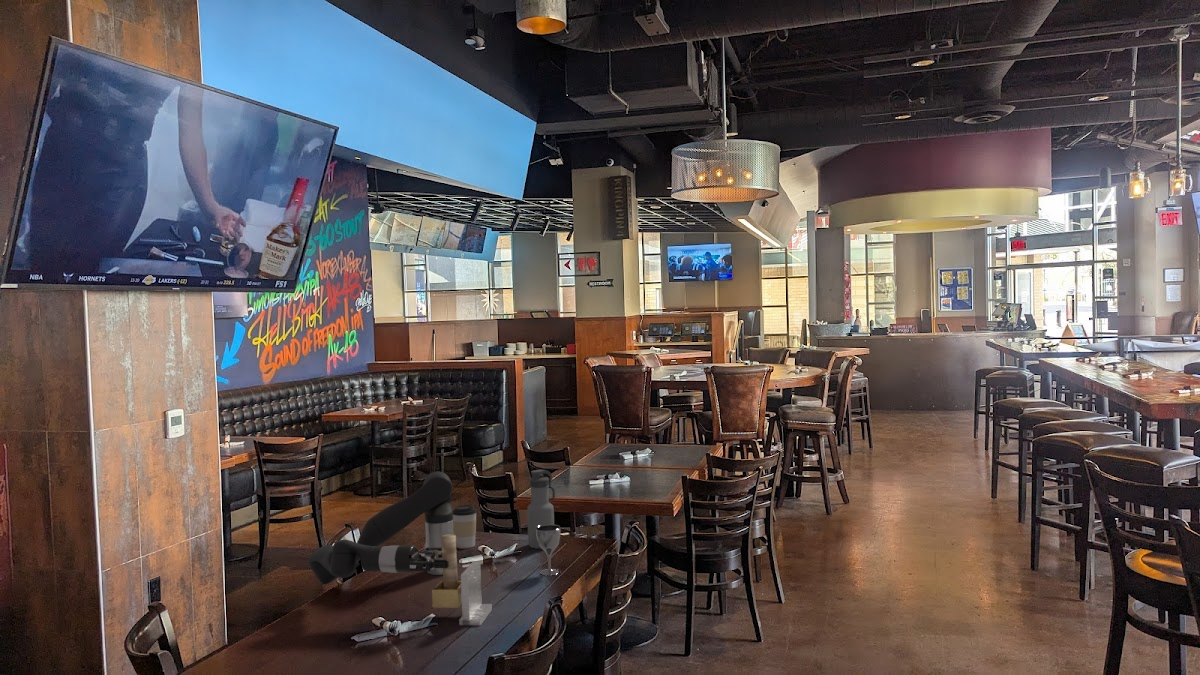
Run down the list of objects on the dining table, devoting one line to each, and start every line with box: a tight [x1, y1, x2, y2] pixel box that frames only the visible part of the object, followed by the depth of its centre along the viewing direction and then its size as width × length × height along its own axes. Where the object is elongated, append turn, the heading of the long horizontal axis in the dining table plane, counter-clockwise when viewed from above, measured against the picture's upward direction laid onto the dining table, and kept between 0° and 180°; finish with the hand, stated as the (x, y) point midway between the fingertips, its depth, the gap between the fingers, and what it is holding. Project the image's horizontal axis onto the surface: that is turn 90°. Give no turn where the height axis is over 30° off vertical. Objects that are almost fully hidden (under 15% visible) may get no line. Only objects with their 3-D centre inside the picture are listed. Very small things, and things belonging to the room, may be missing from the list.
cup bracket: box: [431, 560, 493, 626], centre depth 219 cm, size 14×12×14 cm
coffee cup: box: [452, 504, 478, 549], centre depth 290 cm, size 9×9×15 cm
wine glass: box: [536, 524, 561, 577], centre depth 255 cm, size 8×8×15 cm
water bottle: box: [526, 469, 556, 550], centre depth 286 cm, size 10×10×28 cm
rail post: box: [441, 534, 459, 589], centre depth 219 cm, size 4×4×18 cm
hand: (453, 559), depth 219 cm, fingers open, 8 cm apart
